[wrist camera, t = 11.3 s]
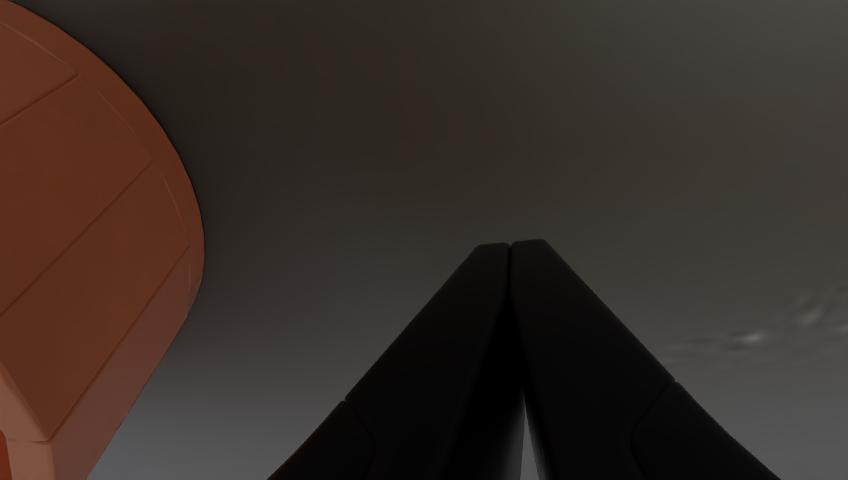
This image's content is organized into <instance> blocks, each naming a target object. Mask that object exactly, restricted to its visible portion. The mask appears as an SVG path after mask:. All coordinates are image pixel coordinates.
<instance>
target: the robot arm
mask: <svg viewBox="0 0 848 480" xmlns="http://www.w3.org/2000/svg"><path fill="white" fill-rule="evenodd" d="M525 406H526V413H527V419H528V425H529V431H530V436H531V441H532V447H533V452H534V457H535V462H536V467H537V472H538V477H539V480H781V479H780V478H779V477H777V476H776V475H775V474H774V473H773V472H772V471H770V470H769V469H768V468H767V467H766V466H765V465H763V464H762V463H761V462H760V461H759V460H758V459H757V458H755V457H754V456H753V455H752V454H751V453H750V452H749V451H747V450H746V449H745V448H744V447H743V446H742V445H741V444H740V443H738V442H737V441H736V440H735V439H734V438H733V437H732V436H730V435H729V434H728V433H727V432H726V431H725V430H724V429H723V428H722V427H721V426H720V425H719V424H718V423H717V422H716V421H715V420H714V419H713V418H712V417H711V416H710V415H709V414H708V413H707V412H706V411H705V410H704V409H703V408H702V407H701V406H700V405H699V404H698V403H697V402H696V401H695V400H694V398H693V397H692V396H691V395H690V394H689V393H688V392H687V391H686V390H685V389H684V388H683V387H682V385H681V384H680V383H678V382H675V379H674V377H673V376H672V375H671V374H670V373H669V372H668V371H667V370H666V369H665V368H664V367H663V366H662V365H661V364H660V362H659V361H658V360H657V359H656V358H655V357H654V356H653V355H652V354H651V353H650V352H649V351H648V350H647V349H646V348H645V346H644V345H643V344H642V343H641V342H640V341H639V340H638V339H637V338H636V337H635V336H634V335H633V334H632V333H631V332H630V330H629V329H628V328H627V327H626V326H625V325H624V324H623V323H622V322H621V321H620V320H619V319H618V318H617V317H616V316H615V314H614V313H613V312H612V311H611V310H610V309H609V308H608V307H607V306H606V305H605V304H604V303H603V302H602V301H601V299H600V298H599V297H598V296H597V295H596V294H595V293H594V292H593V291H592V290H591V289H590V288H589V287H588V286H587V285H586V283H585V282H584V281H583V280H582V279H581V278H580V277H579V276H578V275H577V274H576V273H575V272H574V271H573V270H572V269H571V267H570V266H569V265H568V264H567V263H566V262H565V261H564V260H563V259H562V258H561V257H560V256H559V255H558V254H557V253H556V251H555V250H554V249H553V248H552V247H551V246H550V245H549V244H548V243H547V242H546V241H545V240H543V239H533V240H523V241H516V242H514V243H512V245H511V246H510V245H509V244H508V243H505V242H503V243H492V244H482V245H479V246H477V247H476V248H475V249H474V250H473V251H472V252H471V253H470V255H469V256H468V257H467V258H466V259H465V260H464V261H463V263H462V264H461V265H460V266H459V267H458V268H457V269H456V271H455V272H454V273H453V274H452V275H451V276H450V277H449V279H448V280H447V281H446V282H445V283H444V284H443V285H442V287H441V288H440V289H439V290H438V291H437V292H436V294H435V295H434V296H433V297H432V298H431V299H430V300H429V302H428V303H427V304H426V305H425V306H424V307H423V308H422V310H421V311H420V312H419V313H418V314H417V315H416V316H415V318H414V319H413V320H412V321H411V322H410V323H409V324H408V326H407V327H406V328H405V329H404V330H403V331H402V332H401V334H400V335H399V336H398V337H397V338H396V339H395V340H394V342H393V343H392V344H391V345H390V346H389V347H388V348H387V350H386V351H385V352H384V353H383V354H382V355H381V356H380V358H379V359H378V360H377V361H376V362H375V363H374V364H373V366H372V367H371V368H370V369H369V370H368V371H367V372H366V374H365V375H364V376H363V377H362V378H361V379H360V380H359V382H358V383H357V384H356V385H355V386H354V387H353V388H352V390H351V391H350V392H349V393H348V394H347V395H346V397H345V401H341V402H340V403H339V404H338V405H337V406H336V407H335V409H334V410H333V411H332V412H331V413H330V414H329V415H328V417H327V418H326V419H325V420H324V421H323V422H322V423H321V424H320V426H319V427H318V428H317V429H316V430H315V431H314V432H313V433H312V434H311V435H310V436H309V437H308V438H307V440H306V441H305V442H304V443H303V444H302V445H301V446H300V447H299V448H298V449H297V450H296V451H295V453H294V454H293V455H292V456H291V457H290V458H288V459H287V460H286V461H285V462H284V463H283V464H282V465H281V466H280V467H279V468H278V469H277V470H276V471H275V472H274V473H273V474H272V475H271V476H270V477H269V478H268V479H267V480H520V474H521V462H522V449H523V437H524V420H525Z"/></svg>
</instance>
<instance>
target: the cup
mask: <svg viewBox="0 0 848 480" xmlns="http://www.w3.org/2000/svg"><path fill="white" fill-rule="evenodd" d="M203 266H204V232H203V226H202V221H201V215H200V209H199V206H198V203H197V200H196V196H195V193H194V190H193V187H192V184H191V181H190V179H189V177H188V175H187V172H186V170H185V168H184V166H183V164H182V161H181V159H180V157H179V155H178V153H177V152H176V150H175V148H174V147H173V145H172V143H171V142H170V140H169V138H168V137H167V135H166V133H165V132H164V130H163V128H162V127H161V126H160V124H159V123H158V122H157V120H156V119H155V118H154V116H153V115H152V114H151V112H150V111H149V110H148V108H147V107H146V106H145V105H144V103H143V102H142V101H141V99H140V98H139V97H138V96H137V95H136V94H135V93H134V92H133V91H132V90H131V89H130V88H129V87H128V85H127V84H126V83H125V82H124V81H123V80H122V79H121V78H120V77H119V76H118V75H117V74H116V73H115V72H114V71H113V70H112V69H111V68H109V67H108V66H107V65H106V64H105V63H104V62H103V61H102V60H100V59H99V58H98V57H97V56H96V55H95V54H94V53H92V52H91V51H90V50H89V49H88V48H86V47H85V46H84V45H82V44H81V43H79V42H78V41H77V40H75V39H74V38H72V37H71V36H70V35H68V34H67V33H65V32H64V31H63V30H61V29H60V28H59V27H57V26H55V25H54V24H52V23H50V22H48V21H47V20H45V19H43V18H42V17H40V16H38V15H36V14H35V13H33V12H31V11H29V10H28V9H26V8H24V7H22V6H20V5H17V4H15V3H13V2H11V1H9V0H0V480H86V479H87V478H88V476H89V475H90V473H91V471H92V470H93V468H94V466H95V465H96V463H97V462H98V460H99V458H100V457H101V455H102V454H103V452H104V450H105V449H106V447H107V446H108V444H109V442H110V441H111V439H112V438H113V436H114V434H115V433H116V431H117V430H118V428H119V426H120V425H121V423H122V422H123V420H124V418H125V417H126V415H127V414H128V412H129V410H130V409H131V407H132V405H133V404H134V402H135V401H136V399H137V397H138V396H139V394H140V393H141V391H142V389H143V388H144V386H145V385H146V383H147V381H148V380H149V378H150V377H151V375H152V373H153V372H154V370H155V369H156V367H157V365H158V364H159V362H160V361H161V359H162V357H163V356H164V354H165V352H166V351H167V349H168V348H169V346H170V344H171V343H172V341H173V340H174V338H175V336H176V335H177V333H178V332H179V330H180V328H181V327H182V325H183V324H184V322H185V320H186V317H187V315H188V313H189V311H190V309H191V307H192V306H193V304H194V302H195V299H196V296H197V293H198V290H199V287H200V284H201V280H202V273H203Z"/></svg>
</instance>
